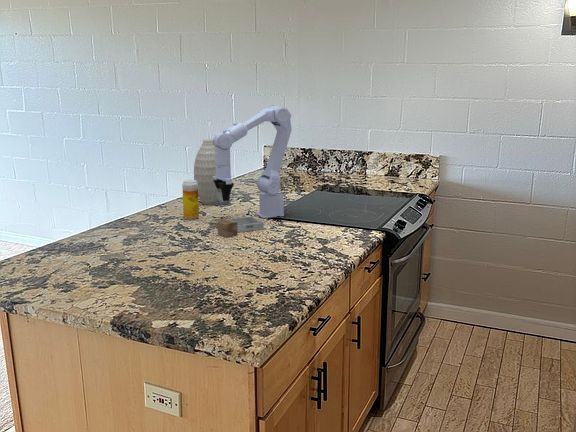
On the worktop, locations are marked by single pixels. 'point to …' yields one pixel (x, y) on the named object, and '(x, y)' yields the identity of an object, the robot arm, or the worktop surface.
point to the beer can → (190, 199)
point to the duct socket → (246, 226)
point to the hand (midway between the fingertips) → (223, 199)
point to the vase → (206, 173)
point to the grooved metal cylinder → (220, 199)
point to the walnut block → (227, 228)
